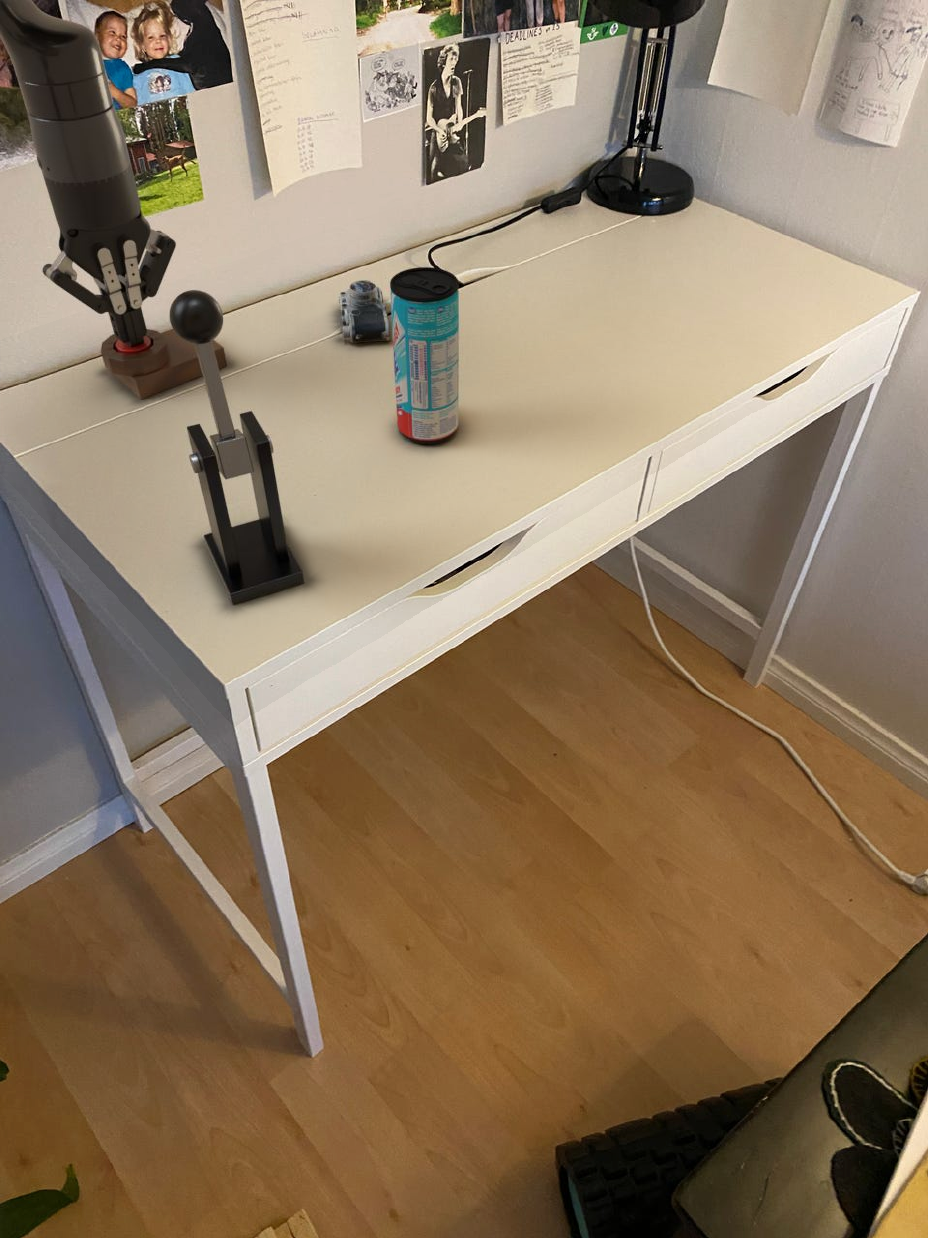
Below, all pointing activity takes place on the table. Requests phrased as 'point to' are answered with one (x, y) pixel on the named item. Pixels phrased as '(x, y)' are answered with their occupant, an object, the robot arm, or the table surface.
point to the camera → (364, 313)
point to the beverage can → (426, 353)
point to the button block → (157, 363)
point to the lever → (211, 376)
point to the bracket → (254, 549)
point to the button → (135, 349)
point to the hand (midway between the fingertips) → (133, 341)
